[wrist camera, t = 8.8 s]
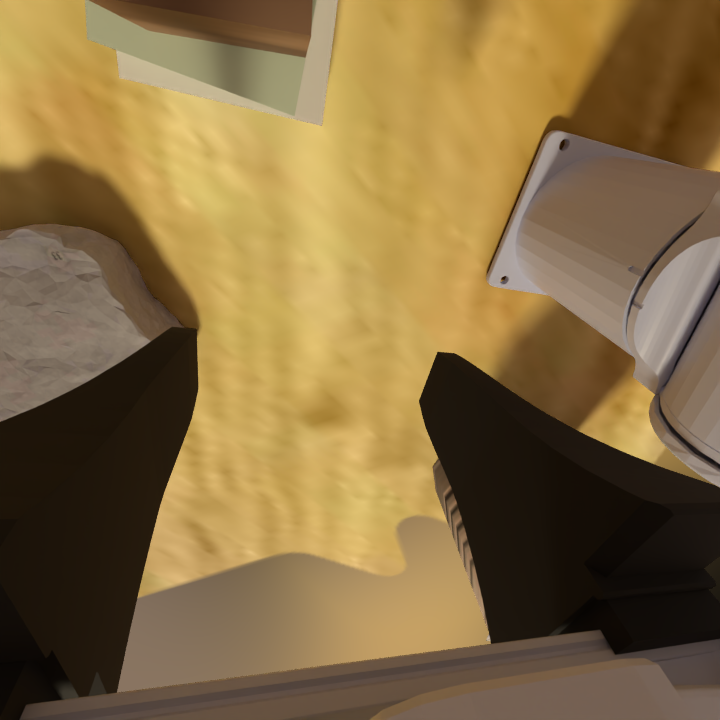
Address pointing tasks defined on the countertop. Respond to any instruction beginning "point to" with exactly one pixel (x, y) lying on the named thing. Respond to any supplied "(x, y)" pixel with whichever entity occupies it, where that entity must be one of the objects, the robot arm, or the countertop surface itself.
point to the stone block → (67, 312)
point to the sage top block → (205, 59)
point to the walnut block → (225, 21)
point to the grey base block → (306, 109)
